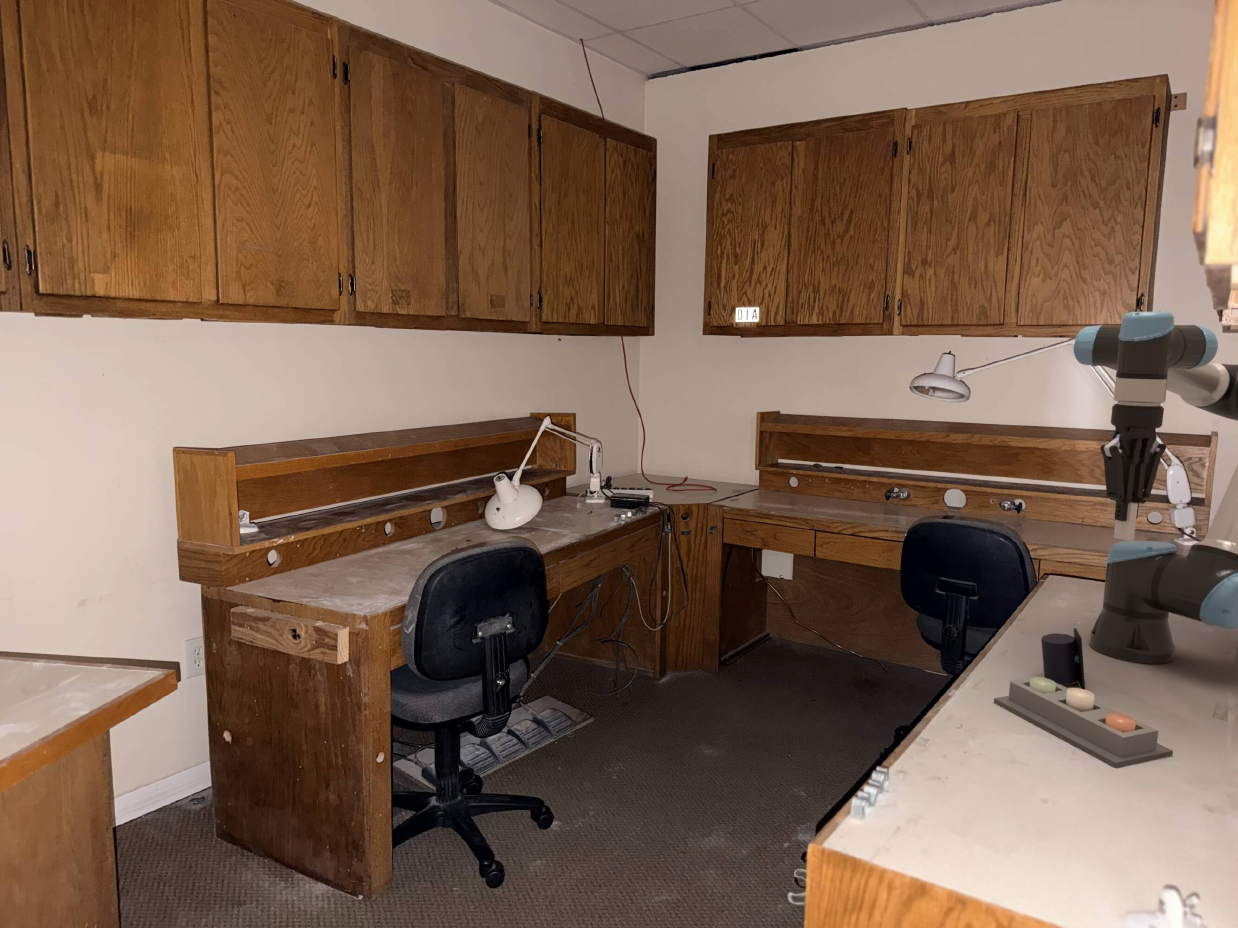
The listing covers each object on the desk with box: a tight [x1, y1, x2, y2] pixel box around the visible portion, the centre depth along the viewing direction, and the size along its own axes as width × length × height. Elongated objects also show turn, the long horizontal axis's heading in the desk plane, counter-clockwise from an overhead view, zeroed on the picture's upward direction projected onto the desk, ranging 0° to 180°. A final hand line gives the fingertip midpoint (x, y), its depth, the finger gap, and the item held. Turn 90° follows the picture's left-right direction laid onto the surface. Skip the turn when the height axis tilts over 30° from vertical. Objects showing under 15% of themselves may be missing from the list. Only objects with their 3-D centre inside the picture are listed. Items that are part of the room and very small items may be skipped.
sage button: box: [1029, 676, 1056, 694], centre depth 145 cm, size 4×4×4 cm
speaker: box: [1040, 627, 1086, 690], centre depth 156 cm, size 8×6×10 cm
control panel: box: [993, 675, 1174, 769], centre depth 138 cm, size 24×12×4 cm, turn 20°
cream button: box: [1066, 687, 1095, 712], centre depth 138 cm, size 4×4×4 cm
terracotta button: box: [1105, 712, 1136, 733], centre depth 131 cm, size 4×4×4 cm
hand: (1123, 538), depth 146 cm, fingers closed
